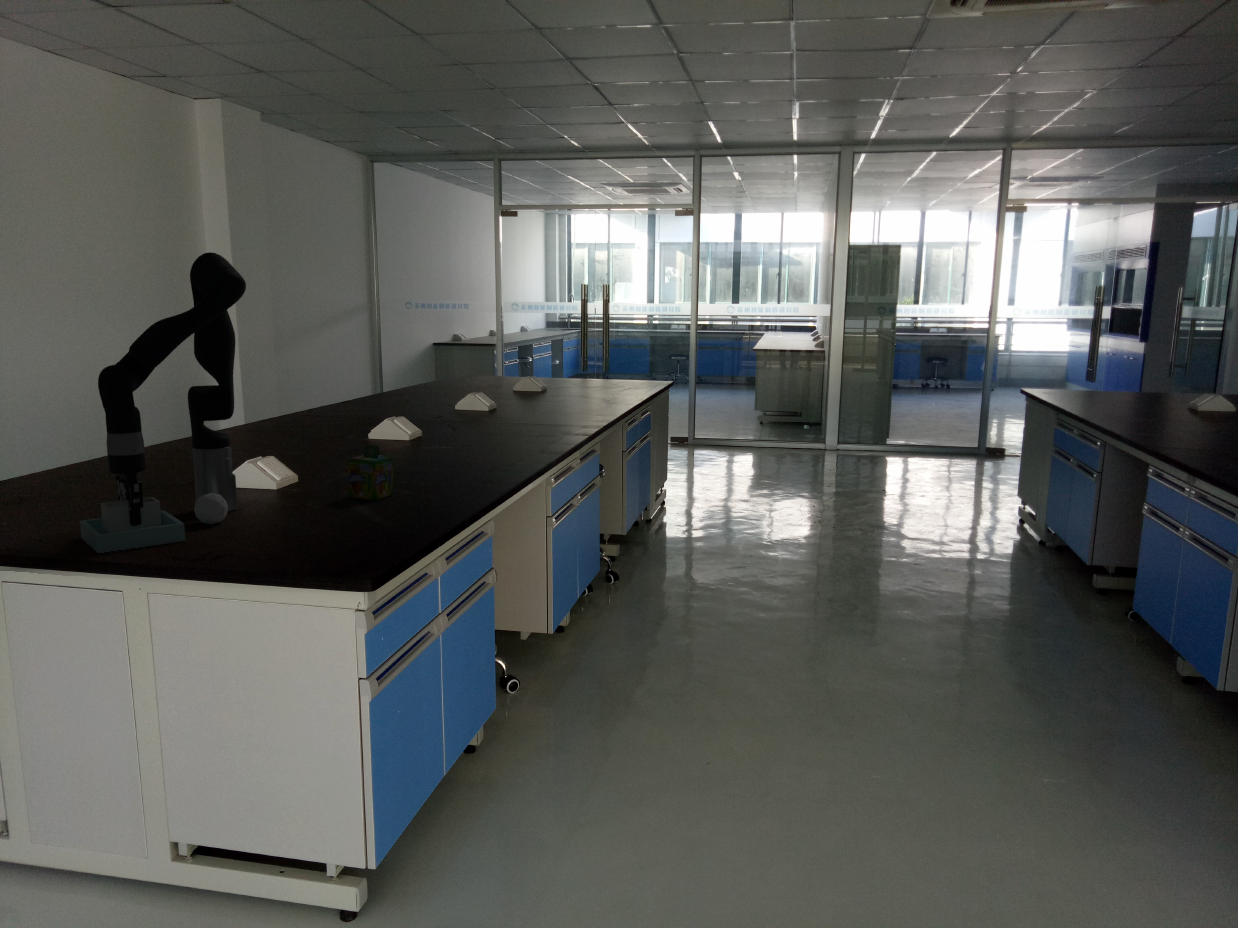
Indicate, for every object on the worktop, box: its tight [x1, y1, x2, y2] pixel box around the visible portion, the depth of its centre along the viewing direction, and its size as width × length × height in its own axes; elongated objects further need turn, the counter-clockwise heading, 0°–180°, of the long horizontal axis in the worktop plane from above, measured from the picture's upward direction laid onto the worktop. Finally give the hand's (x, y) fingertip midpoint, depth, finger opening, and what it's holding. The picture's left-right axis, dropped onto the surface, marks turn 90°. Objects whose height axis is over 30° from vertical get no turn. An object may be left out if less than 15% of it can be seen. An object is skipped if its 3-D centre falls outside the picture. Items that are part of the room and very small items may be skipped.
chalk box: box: [347, 444, 394, 502], centre depth 254 cm, size 9×9×15 cm
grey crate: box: [100, 496, 162, 533], centre depth 206 cm, size 11×6×6 cm, turn 132°
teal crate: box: [79, 509, 186, 554], centre depth 207 cm, size 18×17×4 cm
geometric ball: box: [193, 493, 228, 525], centre depth 223 cm, size 8×8×8 cm
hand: (132, 522), depth 207 cm, fingers closed on grey crate, 6 cm apart
